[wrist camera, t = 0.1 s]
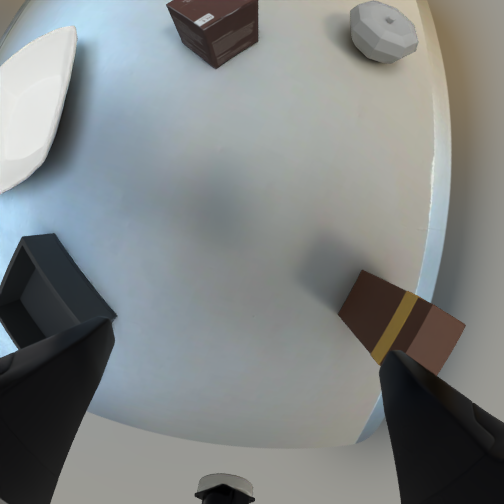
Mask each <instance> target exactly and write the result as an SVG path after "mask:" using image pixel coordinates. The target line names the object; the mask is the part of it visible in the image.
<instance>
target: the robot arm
mask: <svg viewBox="0 0 504 504" xmlns="http://www.w3.org/2000/svg"><path fill="white" fill-rule="evenodd" d="M114 343H115V337H114V332H113V327H112V323H111V320H110V319H109V318H107V317H103V316H97V317H94V318H92V319H90V320H87V321H85V322H83V323H80V324H78V325H76V326H73V327H71V328H69V329H66V330H64V331H62V332H59V333H57V334H55V335H53V336H50V337H48V338H46V339H43V340H41V341H39V342H36V343H34V344H32V345H29V346H27V347H25V348H23V349H20V350H18V351H16V352H15V353H14V352H13V353H11V354H9V355H6V356H4V357H2V358H0V504H50V502H51V499H52V496H53V493H54V490H55V487H56V485H57V481H58V478H59V476H60V473H61V470H62V468H63V465H64V462H65V460H66V457H67V455H68V452H69V450H70V447H71V445H72V442H73V440H74V438H75V435H76V433H77V431H78V428H79V426H80V424H81V421H82V419H83V417H84V415H85V413H86V410H87V408H88V406H89V404H90V402H91V400H92V398H93V395H94V393H95V391H96V389H97V387H98V385H99V383H100V381H101V378H102V376H103V373H104V370H105V367H106V365H107V362H108V359H109V357H110V354H111V351H112V349H113V346H114ZM379 377H380V383H381V390H382V398H383V405H384V412H385V417H386V421H387V425H388V430H389V435H390V439H391V444H392V449H393V455H394V460H395V465H396V471H397V477H398V484H399V490H400V498H401V504H504V423H503V422H502V421H500V420H498V419H497V418H495V417H494V416H492V415H491V414H489V413H488V412H486V411H485V410H483V409H482V408H480V407H479V406H478V405H476V404H475V403H472V401H471V400H469V399H468V398H467V397H465V396H464V395H463V394H461V393H460V392H458V391H457V390H456V389H454V388H453V387H451V386H450V385H448V384H447V383H446V382H445V381H443V380H442V379H440V378H439V377H437V376H436V375H435V374H433V373H432V372H431V371H429V370H428V369H427V368H425V367H424V366H422V365H421V364H420V363H418V362H417V361H415V360H414V359H413V358H411V357H410V356H408V355H407V354H406V353H404V352H403V351H401V350H391V351H389V352H388V353H387V355H386V357H385V359H384V361H383V363H382V365H381V367H380V370H379ZM195 497H197V498H199V499H201V500H202V504H249V503H251V502H254V501H255V498H253V497H251V496H249V495H247V494H245V493H243V492H241V491H239V490H237V489H235V488H233V487H231V486H229V485H227V484H219V485H217V486H214V487H211V488H209V489H206V490H203V491H200V492H197V493H195Z"/></svg>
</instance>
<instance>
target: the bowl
mask: <svg viewBox="0 0 504 504" xmlns="http://www.w3.org/2000/svg"><path fill="white" fill-rule="evenodd" d="M76 46H77V32H76V27H75V26H68V27H62V28H58V29H56V30H54V31H51V32H49V33H47V34H45V35H42V36H41V37H39V38H37V39H35V40H33V41H32V42H30V43H28V44H27V45H26V46H24V47H23V48H22V49H20V50H19V51H18V52H16V53H15V54H14V55H13V56H12V57H10V58H9V59H8V60H7V61H6V62H5V63H4V64H3V65H2V66H1V67H0V194H2V193H4V192H6V191H8V190H10V189H12V188H13V187H15V186H16V185H18V184H20V183H21V182H23V181H24V180H26V179H27V178H28V177H29V176H30V175H32V174H33V173H34V172H35V171H36V170H37V169H38V168H39V167H40V166H41V165H42V164H43V163H44V161H45V159H46V157H47V155H48V153H49V150H50V148H51V145H52V143H53V141H54V138H55V136H56V133H57V129H58V126H59V122H60V119H61V116H62V111H63V107H64V103H65V98H66V94H67V90H68V86H69V82H70V78H71V73H72V68H73V63H74V58H75V53H76Z"/></svg>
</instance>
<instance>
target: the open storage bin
mask: <svg viewBox="0 0 504 504" xmlns="http://www.w3.org/2000/svg"><path fill="white" fill-rule="evenodd" d="M97 316H103V317H107V318H109V319H110V320H111V323H112V322H113V320H114V319H115V318H116V317H117V315H116V314H115V313H114V311H113V310H112V309H111V308H110V307H109V306H108V304H107V303H106V302H105V301H104V300H103V299H102V297H101V296H100V295H99V294H98V292H97V291H96V290H95V289H94V287H93V286H92V285H91V284H90V282H89V281H88V280H87V279H86V277H85V276H84V275H83V273H82V272H81V271H80V269H79V268H78V267H77V265H76V264H75V263H74V261H73V260H72V258H71V257H70V256H69V254H68V253H67V251H66V250H65V248H64V247H63V246H62V244H61V243H60V241H59V240H58V238H57V237H56V235H55V234H54V233H53V234H44V235H34V236H24V237H22V238H21V240H20V242H19V244H18V246H17V248H16V250H15V252H14V254H13V256H12V259H11V261H10V263H9V265H8V268H7V270H6V272H5V275H4V277H3V280H2V282H1V285H0V322H1V323H2V325H3V327H4V328H5V330H6V332H7V333H8V335H9V336H10V338H11V339H12V341H13V342H14V344H15V345H16V347H17V348H18V350H20V349H23V348H25V347H27V346H29V345H32V344H34V343H36V342H39V341H41V340H43V339H46V338H48V337H50V336H53V335H55V334H57V333H59V332H62V331H64V330H66V329H69V328H71V327H73V326H76V325H78V324H80V323H83V322H85V321H87V320H90V319H92V318H94V317H97Z"/></svg>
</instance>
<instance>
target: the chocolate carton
mask: <svg viewBox="0 0 504 504" xmlns="http://www.w3.org/2000/svg"><path fill="white" fill-rule="evenodd" d="M338 316H339V317H340V318H341V319H342V320H343V322H344V323H345V324H346V325H347V326H348V327H349V329H350V330H351V331H352V332H353V333H354V335H355V336H356V337H357V338H358V339H359V341H360V342H361V343H362V344H363V345H364V347H365V348H366V349H367V350H368V351H369V353H370V354H371V356H372V357H373V359H374V360H375V361H376V362H377V363H378V365H380V366H381V365H382V363H383V361H384V359H385V357H386V355H387V353H388V352H389V351H391V350H401V351H403V352H404V353H406V354H407V355H408V356H410V357H411V358H413V359H414V360H415V361H417V362H418V363H420V364H421V365H422V366H424V367H425V368H427V369H428V370H429V371H431V372H432V373H433V374H435V375H436V376H437V375H438V373H439V371H440V370H441V368H442V367H443V365H444V363H445V362H446V360H447V359H448V357H449V355H450V354H451V352H452V350H453V348H454V347H455V345H456V343H457V341H458V339H459V338H460V336H461V334H462V332H463V330H464V328H465V326H466V325H465V324H464V323H462V322H461V321H459V320H457V319H456V318H454V317H453V316H451V315H449V314H448V313H446V312H444V311H443V310H441V309H439V308H438V307H437V306H435V305H433V304H431V303H429V302H427V301H426V300H424V299H422V298H421V297H419V296H417V295H415V294H413V293H411V292H409V291H405V290H403V289H401V288H399V287H397V286H395V285H393V284H391V283H389V282H387V281H385V280H383V279H381V278H379V277H377V276H374V275H372V274H370V273H368V272H366V271H364V270H362V271H361V273H360V275H359V277H358V279H357V281H356V283H355V285H354V286H353V288H352V290H351V292H350V294H349V296H348V298H347V299H346V301H345V303H344V305H343V307H342V308H341V310H340V312H339V314H338Z"/></svg>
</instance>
